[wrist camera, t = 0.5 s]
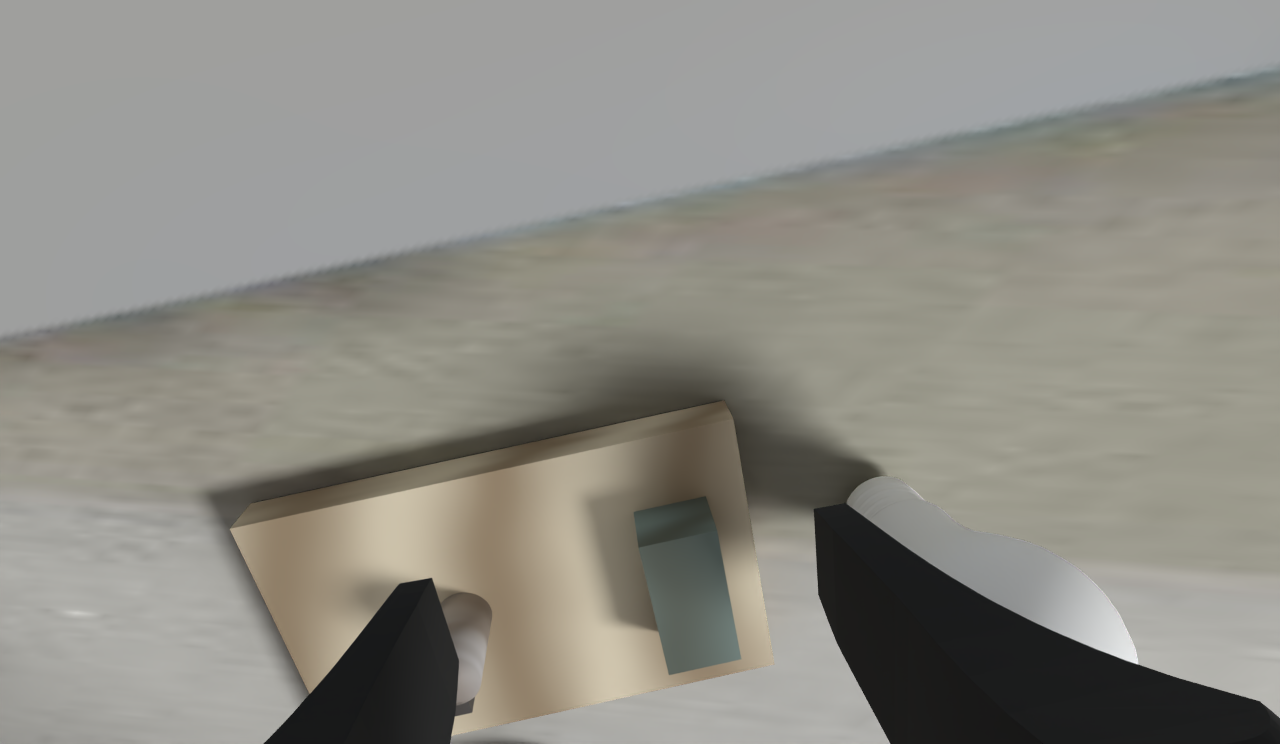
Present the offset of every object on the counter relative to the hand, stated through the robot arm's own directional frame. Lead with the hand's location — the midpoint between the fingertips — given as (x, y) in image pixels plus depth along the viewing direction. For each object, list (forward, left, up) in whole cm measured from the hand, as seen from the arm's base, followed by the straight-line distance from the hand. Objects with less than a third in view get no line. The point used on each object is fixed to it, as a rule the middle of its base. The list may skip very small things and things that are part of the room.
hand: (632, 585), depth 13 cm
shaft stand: (-8, -2, -10) cm, 13 cm away
